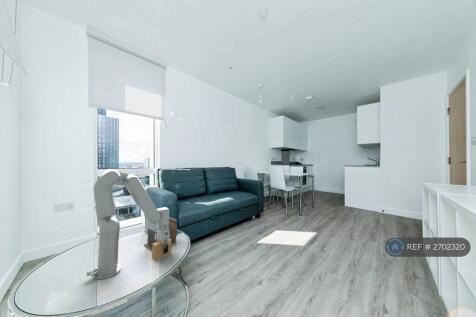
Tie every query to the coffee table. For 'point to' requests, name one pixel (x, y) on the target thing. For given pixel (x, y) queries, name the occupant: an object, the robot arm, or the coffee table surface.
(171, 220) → the book rack
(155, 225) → the hard drive box
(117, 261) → the robot arm
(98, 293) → the coffee table surface
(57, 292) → the coffee table surface
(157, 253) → the book
